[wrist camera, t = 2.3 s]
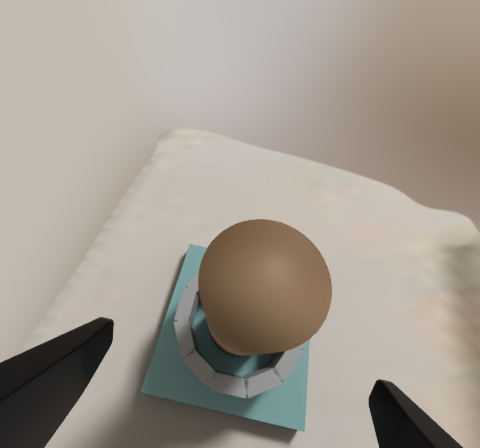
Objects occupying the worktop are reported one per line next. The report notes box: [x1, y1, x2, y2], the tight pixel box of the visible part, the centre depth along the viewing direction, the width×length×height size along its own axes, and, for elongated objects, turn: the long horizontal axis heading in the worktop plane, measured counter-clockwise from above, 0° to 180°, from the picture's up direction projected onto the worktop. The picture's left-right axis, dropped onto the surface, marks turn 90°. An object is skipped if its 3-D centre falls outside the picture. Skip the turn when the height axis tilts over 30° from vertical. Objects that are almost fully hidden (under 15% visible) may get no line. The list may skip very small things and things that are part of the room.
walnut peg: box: [198, 219, 332, 356], centre depth 12 cm, size 4×4×11 cm
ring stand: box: [140, 244, 309, 431], centre depth 16 cm, size 10×10×4 cm
